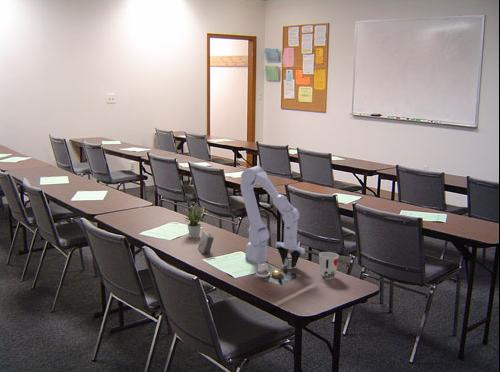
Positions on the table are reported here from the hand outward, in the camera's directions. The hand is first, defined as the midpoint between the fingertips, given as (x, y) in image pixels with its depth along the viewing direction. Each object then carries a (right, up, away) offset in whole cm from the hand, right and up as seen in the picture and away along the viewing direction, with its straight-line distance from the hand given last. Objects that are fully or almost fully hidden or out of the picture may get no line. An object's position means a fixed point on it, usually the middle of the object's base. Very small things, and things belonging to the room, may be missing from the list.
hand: (289, 265), depth 231 cm
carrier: (-6, -4, -11) cm, 13 cm away
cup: (+16, -4, -9) cm, 18 cm away
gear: (0, -2, 0) cm, 2 cm away
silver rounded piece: (-12, -2, -12) cm, 17 cm away
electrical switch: (-39, +3, +23) cm, 46 cm away
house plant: (-46, +8, +47) cm, 67 cm away
